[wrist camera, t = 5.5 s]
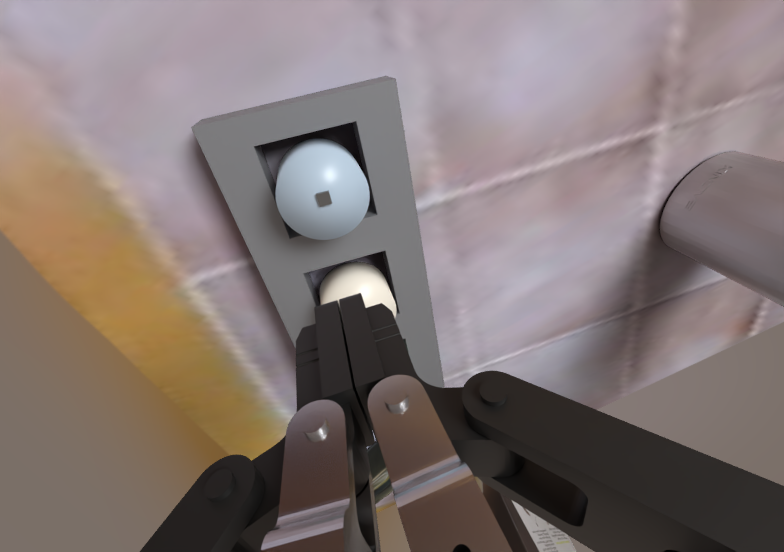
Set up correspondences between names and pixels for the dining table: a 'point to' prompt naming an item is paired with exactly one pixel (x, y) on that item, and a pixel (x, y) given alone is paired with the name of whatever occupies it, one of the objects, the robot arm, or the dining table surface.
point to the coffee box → (524, 525)
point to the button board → (374, 234)
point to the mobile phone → (379, 473)
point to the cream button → (357, 285)
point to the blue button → (321, 189)
